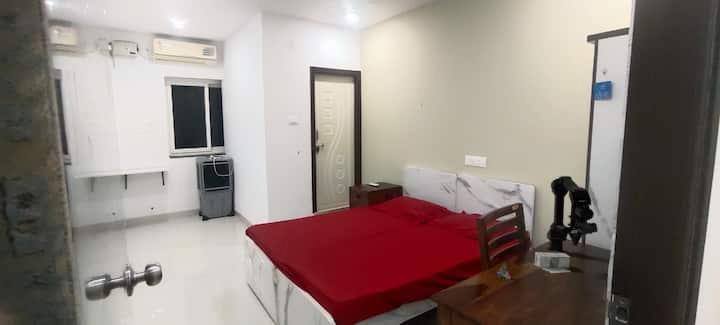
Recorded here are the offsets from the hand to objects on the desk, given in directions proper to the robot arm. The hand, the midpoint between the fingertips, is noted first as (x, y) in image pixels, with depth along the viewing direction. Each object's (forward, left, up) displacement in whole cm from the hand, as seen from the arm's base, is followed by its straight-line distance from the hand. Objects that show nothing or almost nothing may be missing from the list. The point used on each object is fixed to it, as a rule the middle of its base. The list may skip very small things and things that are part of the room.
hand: (575, 245), depth 172 cm
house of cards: (+5, -44, -11) cm, 46 cm away
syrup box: (0, -3, -8) cm, 8 cm away
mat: (-1, -12, -11) cm, 16 cm away
